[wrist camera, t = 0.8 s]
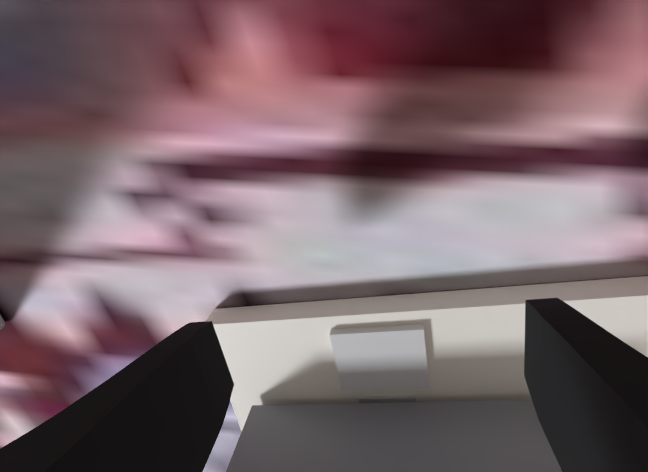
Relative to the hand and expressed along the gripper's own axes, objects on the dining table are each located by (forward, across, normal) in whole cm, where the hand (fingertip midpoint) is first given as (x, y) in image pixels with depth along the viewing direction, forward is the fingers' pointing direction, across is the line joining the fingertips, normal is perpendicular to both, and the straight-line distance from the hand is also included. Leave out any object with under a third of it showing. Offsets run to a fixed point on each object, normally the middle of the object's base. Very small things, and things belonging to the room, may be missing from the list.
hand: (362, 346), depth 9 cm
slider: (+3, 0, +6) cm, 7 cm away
